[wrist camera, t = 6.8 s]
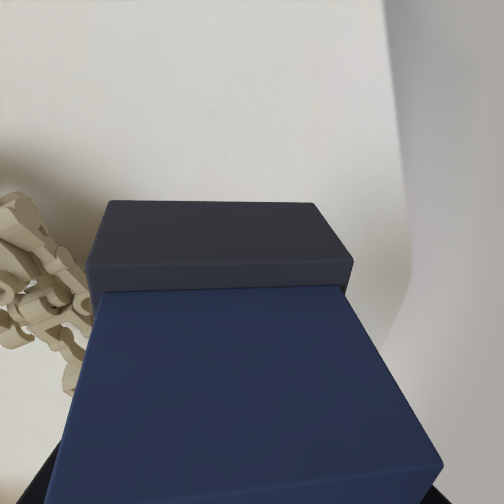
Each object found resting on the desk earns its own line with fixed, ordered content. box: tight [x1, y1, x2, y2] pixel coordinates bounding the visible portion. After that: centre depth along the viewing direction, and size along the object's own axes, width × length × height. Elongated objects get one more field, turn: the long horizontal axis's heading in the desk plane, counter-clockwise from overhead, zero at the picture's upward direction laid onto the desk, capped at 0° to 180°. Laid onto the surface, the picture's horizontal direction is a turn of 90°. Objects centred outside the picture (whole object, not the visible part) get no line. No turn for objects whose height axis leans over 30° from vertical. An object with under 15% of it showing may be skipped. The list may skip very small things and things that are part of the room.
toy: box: [0, 192, 94, 397], centre depth 17 cm, size 6×4×15 cm
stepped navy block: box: [44, 200, 444, 504], centre depth 8 cm, size 9×4×6 cm, turn 175°
